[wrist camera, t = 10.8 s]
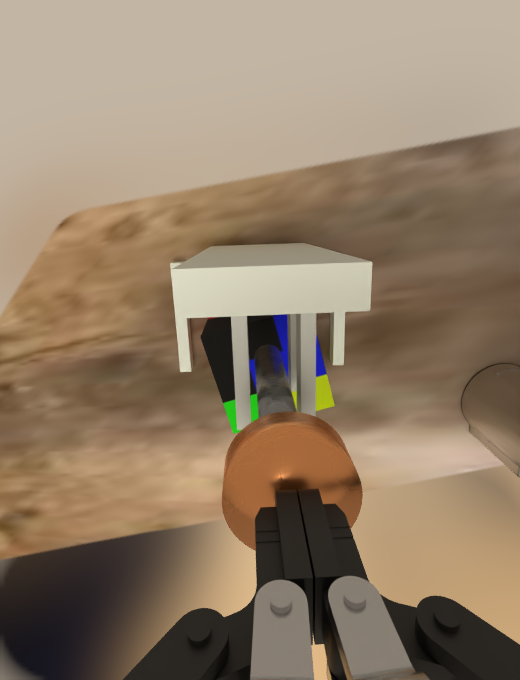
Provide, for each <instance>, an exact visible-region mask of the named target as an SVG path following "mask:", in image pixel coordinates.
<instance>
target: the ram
mask: <svg viewBox="0 0 520 680" xmlns="http://www.w3.org/2000/svg"><path fill="white" fill-rule="evenodd" d="M254 359H255V374H256V388H257V403H258V417H259V418H258V419H256V420H255V421H253V422H251V423H250V424H248V425H247V426H246V427H245V428H243V429H242V430H241V431H240V432H239V433H238V435H237V436H236V437H235V438H234V440H233V441H232V443H231V445H230V447H229V449H228V452H227V455H226V460H225V468H224V480H223V492H222V508H223V513H224V517H225V520H226V522H227V524H228V526H229V528H230V529H231V530H232V532H233V533H234V535H235V536H236V537H237V538H238V539H239V540H240V541H242V542H243V543H244V544H245V545H247V546H248V547H250V548H252V549H253V550H256V542H255V517H256V515H257V513H258V512H259V510H260V508H261V507H275V491H279V490H296V492H297V489H317V488H318V489H319V491H320V495H321V499H322V502H323V504H334V503H335V504H336V505H337V506H338V507H339V508H340V509H341V510H342V511H343V512H344V513H345V515H346V517H347V520H348V523H349V526H350V529H351V527H352V526H353V524H354V523H355V521H356V519H357V517H358V514H359V512H360V509H361V505H362V486H361V481H360V478H359V475H358V473H357V471H356V469H355V466H354V464H353V462H352V460H351V458H350V455H349V453H348V451H347V449H346V447H345V444H344V443H343V441H342V439H341V437H340V436H339V434H338V433H337V432H336V431H335V430H334V429H333V428H332V427H331V426H330V425H329V424H327V423H326V422H325V421H323V420H321V419H319V418H317V417H315V416H312V415H310V414H306V413H301V412H297V410H296V407H295V403H294V399H293V396H292V392H291V389H290V385H289V381H288V378H287V374H286V371H285V367H284V363H283V360H282V356H281V353H280V351H279V349H278V348H277V347H275V346H273V345H263V346H261V347H259V348H258V349H257V351H256V353H255V356H254Z"/></svg>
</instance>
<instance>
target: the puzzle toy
mask: <svg viewBox="0 0 520 680" xmlns="http://www.w3.org/2000/svg"><path fill="white" fill-rule="evenodd" d="M247 324H248V347H249V370H250V403H251V422H253V421H255V420H256V419H258V418H259V417H258V403H257V388H256V374H255V359H254V356H255V353H256V351H257V349H258V348H259V347H261V346H263V345H273V346H275V347H277V348H278V349H279V351H280V353H281V356H282V360H283V363H284V367H285V371H286V374H287V378H288V325H287V314H281V315H256V316H247ZM201 340H202V343H203V346H204V348H205V351H206V354H207V357H208V360H209V363H210V366H211V369H212V372H213V375H214V378H215V381H216V384H217V387H218V390H219V392H220V395H221V398H222V401H223V404H224V407H225V410H226V413H227V416H228V419H229V422H230V425H231V428H232V431H233V434H234V433H237V432H240V431H241V430H237V419H236V401H235V382H234V364H233V346H232V327H231V317H209V318H208V320H207V323H206V325H205V327H204V330H203V332H202V335H201ZM290 389H291V388H290ZM291 392H292V396H293V399H294V403H295V407H296V410H297V391H291ZM332 406H335V405H334V401H333V397H332V393H331V389H330V385H329V381H328V377H327V374H326V370H325V366H324V362H323V358H322V354H321V350H320V346H319V342H318V338H317V334H316V411H317V410H321V409H325V408H328V407H332Z"/></svg>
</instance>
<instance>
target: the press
mask: <svg viewBox="0 0 520 680" xmlns="http://www.w3.org/2000/svg"><path fill="white" fill-rule="evenodd" d="M170 266H171V276H172V287H173V298H174V308H175V319H176V329H177V340H178V350H179V361H180V372H191V371H192V368H193V366H194V365H193V353H192V342H191V330H190V318H206V317H231V327H232V346H233V364H234V382H235V401H236V419H237V430H242V429H243V428H245V427H246V426H247V425H248V424H250V423H251V403H250V370H249V347H248V324H247V316H256V315H281V314H287V325H288V381H289V385H290V388H291V391H297V412H301V413H306V414H310V415H312V416H315V417H316V313H330V359H329V360H330V361H331V363H332V364H333V365H344V334H345V312H356V311H370V302H371V280H372V262H371V261H367V260H364V259H360V258H357V257H353V256H349V255H346V254H342V253H339V252H335V251H331V250H328V249H324V248H321V247H317V246H313V245H310V244H306V243H286V244H258V245H230V246H211V247H209V248H207V249H206V250H204V251H202V252H200V253H199V254H197V255H195V256H194V257H192V258H190V259H188V260H187V261H179V262H172V263H170Z"/></svg>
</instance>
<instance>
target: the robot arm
mask: <svg viewBox="0 0 520 680" xmlns="http://www.w3.org/2000/svg"><path fill="white" fill-rule="evenodd" d="M462 411H463V414H464V417H465V419H466V420H467V421H468V423H469V424H470V433H471V434H472V435H473V436H474V437H475V438H477V439H478V440H479V441H480V442H481V443H482V444H483V445H484V446H485V447H486V448H487V449H489V450H490V451H491V452H492V453H493V454H494V455H495V456H496V457H497V458H498V459H499V460H501V461H502V462H503V463H504V464H505V465H506V466H507V467H508V468H509V469H510V470H511V471H513V472H514V473H515V474H516V475H517V476H518V477H520V367H519V366H516V365H513V364H498V365H494V366H491V367H488V368H486V369H484V370H483V371H481V372H480V373H478V374H477V375H476V376H475V377H474V378H473V379H472V380H471V381H470V382H469V384H468V385H467V387H466V389H465V391H464V394H463V397H462ZM255 542H256V573H257V589H256V593H255V595H254V597H253V599H252V601H251V602H250V603H249V604H248V605H247V606H246V607H245V608H243V609H242V610H241V611H238V612H237V613H234V614H232V615H229V616H227V617H223V616H222V615H221V614H220V613H219V612H217V611H215V610H212V609H208V608H200V609H196V610H193V611H190V612H188V613H187V614H185V615H184V616H183V617H182V618H181V619H180V620H179V621H178V622H177V623H176V624H175V625H174V626H173V627H172V628H171V629H170V630H169V631H168V632H167V633H166V634H165V636H164V637H163V638H162V639H161V640H160V641H159V642H158V643H157V644H156V645H155V646H154V647H153V648H152V649H151V650H150V651H149V653H148V654H147V655H146V656H145V657H144V658H143V659H142V660H141V661H140V662H139V663H138V664H137V665H136V666H135V667H134V668H133V669H132V670H131V672H130V673H129V674H128V675H127V676H126V677H125V678H124V679H123V680H314V673H313V661H312V650H311V645H312V643H313V642H312V641H313V636H312V635H314V642H315V644H324V645H325V651H326V656H327V678H328V680H520V645H519V644H518V643H516V642H515V641H513V640H512V639H510V638H509V637H507V636H506V635H505V634H503V633H502V632H500V631H499V630H497V629H496V628H494V627H493V626H491V625H490V624H488V623H487V622H485V621H484V620H482V619H481V618H479V617H478V616H476V615H475V614H473V613H472V612H470V611H469V610H468V609H466V608H465V607H463V606H462V605H460V604H459V603H457V602H455V601H453V600H451V599H448V598H446V597H442V596H429V597H426V598H424V599H423V600H422V601H420V603H419V604H418V606H417V608H416V607H412V606H408V605H404V604H399V603H396V602H393V601H391V600H388V599H387V598H385V597H383V596H382V595H381V594H379V592H378V590H377V589H376V588H375V587H374V586H373V585H372V584H371V583H370V582H369V580H368V578H367V575H366V572H365V569H364V566H363V564H362V561H361V558H360V555H359V552H358V549H357V546H356V544H355V541H354V539H353V535H352V532H351V529H350V526H349V523H348V520H347V517H346V515H345V513H344V512H343V511H342V510H341V509H340V508H339V507H338V506H337V505H336V504H335V503H334V504H323V502H322V499H321V495H320V491H319V489H318V488H317V489H297V492H296V490H279V491H275V507H261V508H260V510H259V512H258V513H257V515H256V517H255Z"/></svg>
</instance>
